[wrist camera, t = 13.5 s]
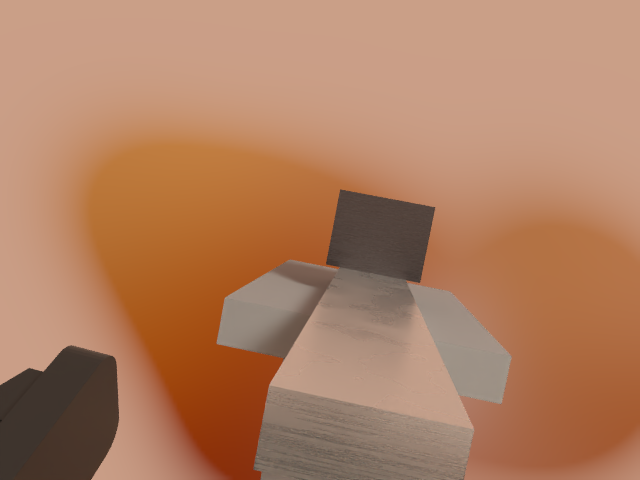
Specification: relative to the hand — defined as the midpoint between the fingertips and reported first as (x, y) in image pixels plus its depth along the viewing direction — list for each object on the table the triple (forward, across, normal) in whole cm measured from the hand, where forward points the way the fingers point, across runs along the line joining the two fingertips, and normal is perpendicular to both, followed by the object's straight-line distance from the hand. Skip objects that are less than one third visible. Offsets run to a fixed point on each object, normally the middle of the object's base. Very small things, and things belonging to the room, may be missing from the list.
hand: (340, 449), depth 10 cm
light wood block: (+12, 0, -7) cm, 14 cm away
